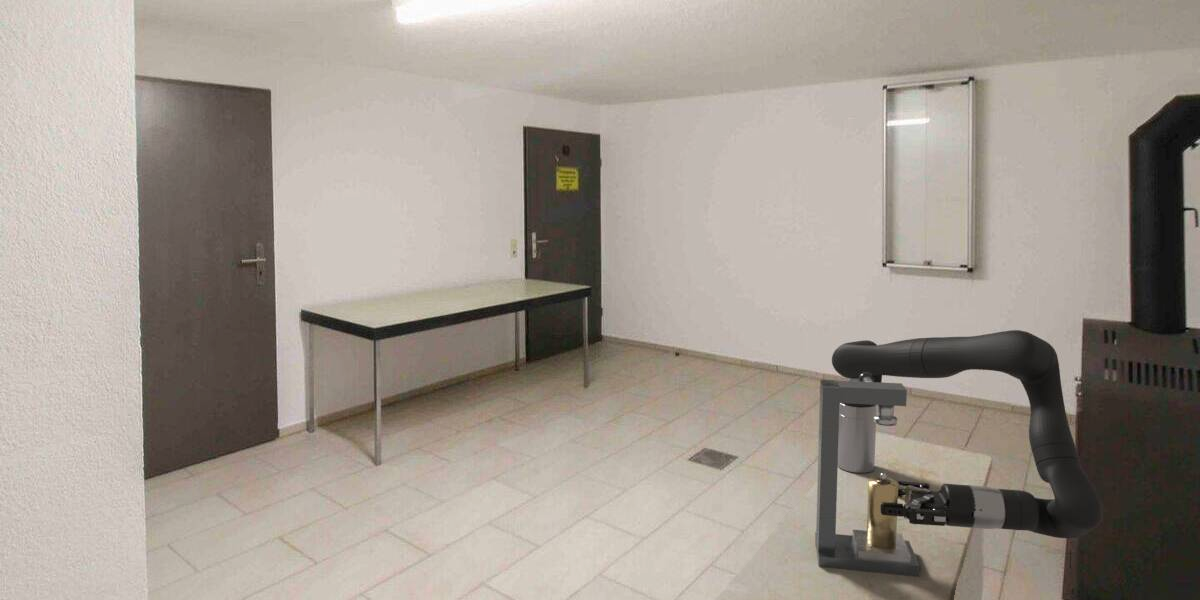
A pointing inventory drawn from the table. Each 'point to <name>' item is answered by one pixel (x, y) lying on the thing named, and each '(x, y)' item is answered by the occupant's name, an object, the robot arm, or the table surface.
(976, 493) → the robot arm
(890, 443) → the table surface
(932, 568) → the table surface
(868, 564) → the press
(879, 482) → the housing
